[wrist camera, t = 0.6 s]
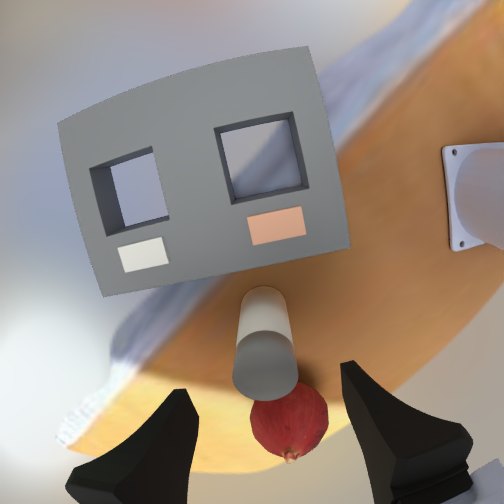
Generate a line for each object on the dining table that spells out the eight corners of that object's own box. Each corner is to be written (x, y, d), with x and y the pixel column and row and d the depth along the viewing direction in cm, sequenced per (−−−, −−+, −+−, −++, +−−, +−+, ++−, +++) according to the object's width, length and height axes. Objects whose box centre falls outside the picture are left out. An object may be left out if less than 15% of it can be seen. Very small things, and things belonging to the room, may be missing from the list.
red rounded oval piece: (330, 366, 23) (352, 439, 15) (307, 414, 25) (318, 484, 17) (260, 355, 23) (261, 431, 15) (244, 404, 25) (240, 478, 17)
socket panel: (301, 61, 17) (308, 44, 14) (338, 235, 20) (352, 249, 17) (80, 126, 18) (54, 122, 15) (120, 281, 21) (101, 299, 18)
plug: (281, 281, 21) (292, 346, 14) (289, 321, 22) (302, 395, 14) (236, 291, 21) (225, 357, 14) (246, 329, 22) (241, 404, 15)
